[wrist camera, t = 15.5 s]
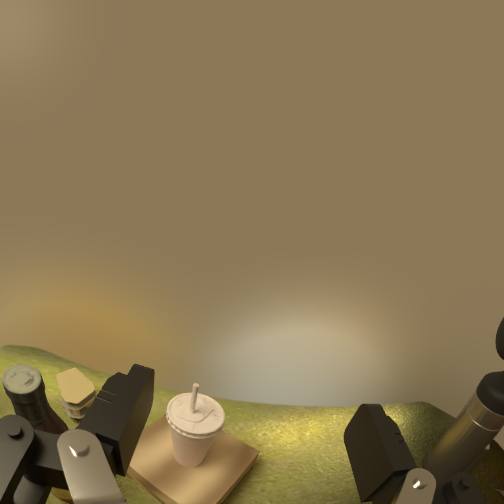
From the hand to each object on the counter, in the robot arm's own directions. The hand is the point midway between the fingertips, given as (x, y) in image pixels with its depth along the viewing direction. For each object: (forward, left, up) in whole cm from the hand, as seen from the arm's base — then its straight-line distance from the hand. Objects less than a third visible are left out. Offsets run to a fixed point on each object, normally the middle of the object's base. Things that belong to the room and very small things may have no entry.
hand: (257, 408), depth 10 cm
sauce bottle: (+17, +4, -30) cm, 35 cm away
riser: (+9, -11, -30) cm, 33 cm away
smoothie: (+9, -11, -26) cm, 30 cm away
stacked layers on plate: (+28, -7, -31) cm, 42 cm away
